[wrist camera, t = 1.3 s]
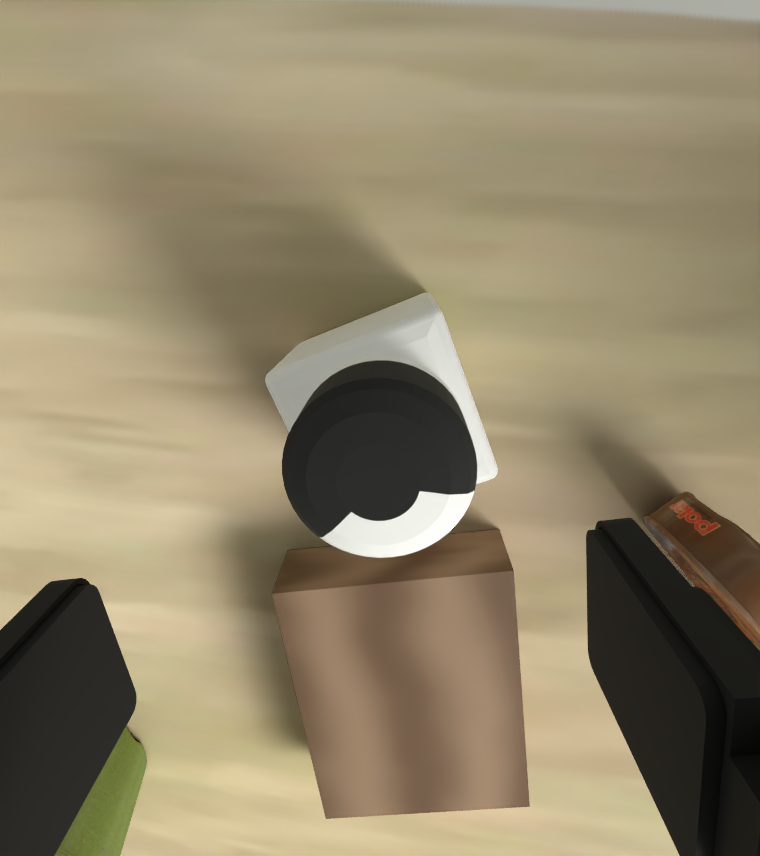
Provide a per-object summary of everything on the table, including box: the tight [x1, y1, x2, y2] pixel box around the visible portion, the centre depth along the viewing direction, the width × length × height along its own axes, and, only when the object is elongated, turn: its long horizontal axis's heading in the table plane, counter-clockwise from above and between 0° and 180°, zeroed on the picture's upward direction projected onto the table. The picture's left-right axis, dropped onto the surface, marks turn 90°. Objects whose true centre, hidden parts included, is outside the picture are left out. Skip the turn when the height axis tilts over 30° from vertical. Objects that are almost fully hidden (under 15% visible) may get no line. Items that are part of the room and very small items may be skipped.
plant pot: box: [55, 727, 147, 856], centre depth 31 cm, size 12×12×11 cm
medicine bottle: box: [265, 293, 498, 558], centre depth 21 cm, size 7×7×12 cm
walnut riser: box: [272, 529, 530, 819], centre depth 31 cm, size 12×16×4 cm
